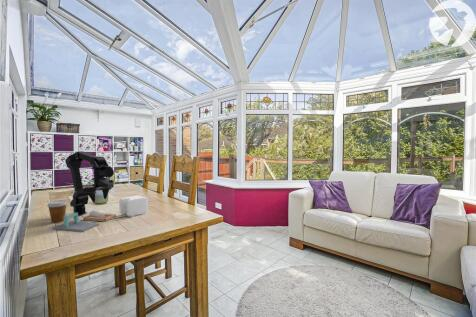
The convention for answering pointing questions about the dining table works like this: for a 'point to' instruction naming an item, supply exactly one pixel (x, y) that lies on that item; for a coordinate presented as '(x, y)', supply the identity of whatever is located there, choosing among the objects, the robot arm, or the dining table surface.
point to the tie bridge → (75, 215)
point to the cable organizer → (133, 205)
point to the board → (77, 226)
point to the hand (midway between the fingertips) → (99, 200)
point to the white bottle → (99, 214)
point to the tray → (110, 216)
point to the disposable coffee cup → (57, 210)
